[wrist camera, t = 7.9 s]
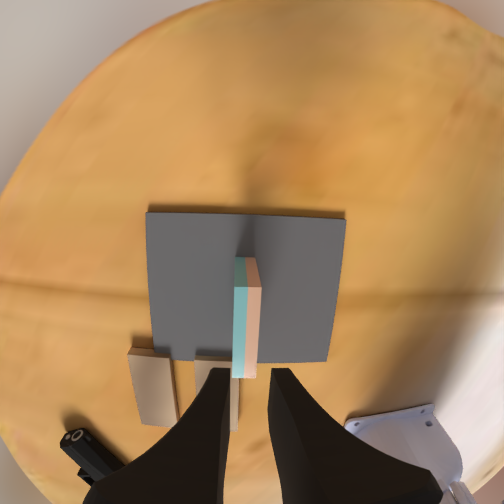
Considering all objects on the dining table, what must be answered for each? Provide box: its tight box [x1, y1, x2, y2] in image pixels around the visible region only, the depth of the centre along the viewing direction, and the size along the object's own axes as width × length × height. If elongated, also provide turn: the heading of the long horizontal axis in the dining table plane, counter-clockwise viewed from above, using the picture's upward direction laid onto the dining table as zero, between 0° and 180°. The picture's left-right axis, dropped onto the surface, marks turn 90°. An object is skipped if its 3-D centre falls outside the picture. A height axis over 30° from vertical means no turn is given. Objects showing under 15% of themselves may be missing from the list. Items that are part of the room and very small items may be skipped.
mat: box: [146, 212, 346, 363], centre depth 19 cm, size 12×10×1 cm
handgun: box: [60, 428, 125, 486], centre depth 24 cm, size 3×17×12 cm
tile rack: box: [127, 347, 239, 431], centre depth 21 cm, size 8×7×1 cm
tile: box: [232, 257, 262, 378], centre depth 17 cm, size 1×5×5 cm, turn 177°
